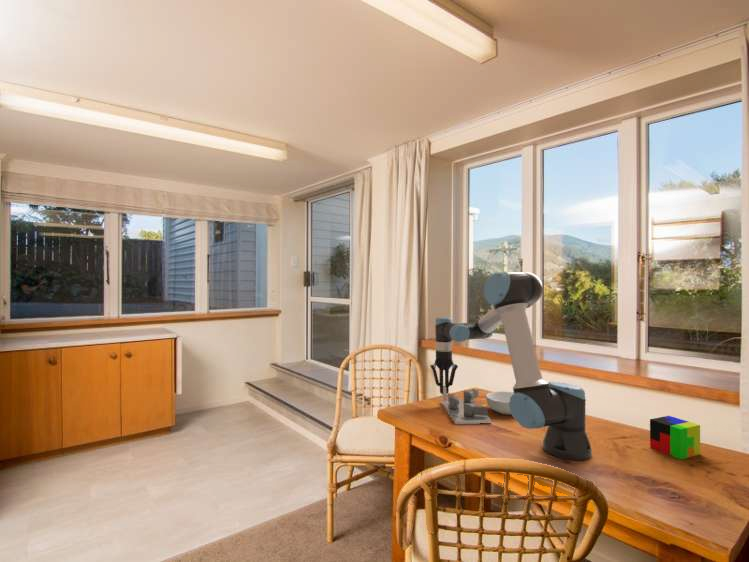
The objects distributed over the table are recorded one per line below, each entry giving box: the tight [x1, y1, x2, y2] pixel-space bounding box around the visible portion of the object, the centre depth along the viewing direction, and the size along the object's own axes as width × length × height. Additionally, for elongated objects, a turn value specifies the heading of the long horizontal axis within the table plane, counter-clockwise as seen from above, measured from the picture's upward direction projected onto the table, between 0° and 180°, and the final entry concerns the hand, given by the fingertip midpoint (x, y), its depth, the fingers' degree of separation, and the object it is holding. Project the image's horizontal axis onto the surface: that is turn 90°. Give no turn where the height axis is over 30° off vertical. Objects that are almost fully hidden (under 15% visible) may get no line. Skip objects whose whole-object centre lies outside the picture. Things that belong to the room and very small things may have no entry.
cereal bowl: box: [485, 390, 514, 416], centre depth 176 cm, size 17×17×7 cm
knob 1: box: [447, 392, 460, 409], centre depth 180 cm, size 10×4×4 cm, turn 2°
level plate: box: [440, 399, 492, 425], centre depth 176 cm, size 28×15×2 cm, turn 2°
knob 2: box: [463, 388, 479, 402], centre depth 189 cm, size 10×4×4 cm, turn 137°
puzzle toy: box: [649, 415, 701, 460], centre depth 135 cm, size 10×10×10 cm
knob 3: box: [464, 403, 489, 417], centre depth 167 cm, size 10×4×4 cm, turn 77°
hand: (444, 400), depth 183 cm, fingers closed
